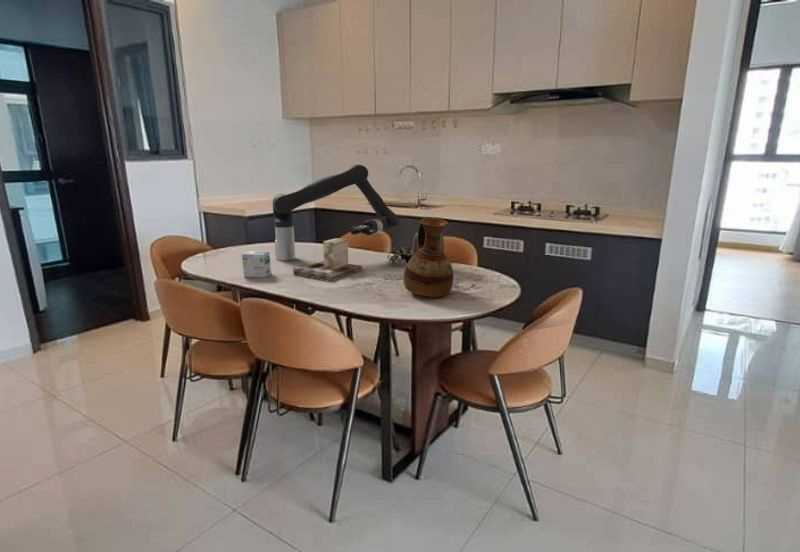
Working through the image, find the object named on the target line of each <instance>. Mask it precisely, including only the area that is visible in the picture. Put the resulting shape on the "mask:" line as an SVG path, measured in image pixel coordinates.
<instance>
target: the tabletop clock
mask: <svg viewBox="0 0 800 552" xmlns="http://www.w3.org/2000/svg"><path fill="white" fill-rule="evenodd" d="M426 218H432V217H429V216H427V217H424V218H422V219H421V220H423V219H426ZM444 241H445V239H444V236H443V233H441V236H440V250H441V251H442V252H443V253H444V248H445V242H444ZM411 246H412V247H411V254H413V255H414V254H415V253H416V252H417V251H418V249H419V247H418V232H415V234H414V236H413V240H412V245H411Z"/></svg>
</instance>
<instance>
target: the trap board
mask: <svg viewBox="0 0 800 552" xmlns="http://www.w3.org/2000/svg"><path fill="white" fill-rule="evenodd" d="M362 270H363V265H360V264H353V263H348V264H347V265H344V266H341V267H338V268H330V267H324V260H322V261H319V262H316V263H313V264H309V265H307V266H303V267H299V266H292V271H293V275H294V274H295V275H294V276H299V275H300V276H299V277H304V276H307V277H306V278H310V277H313V278H312V279H315V278H317V279H316V280H320V279H323V280H322V281H326V280H328V281H327V282H333V281H336V280H338V278H339V279H341V278H344V277H346V275H347V276H349V275H352V274H354V273H357V272H360V271H362ZM335 279H336V280H335ZM332 280H333V281H332Z"/></svg>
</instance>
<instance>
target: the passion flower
mask: <svg viewBox="0 0 800 552" xmlns="http://www.w3.org/2000/svg"><path fill="white" fill-rule="evenodd" d="M393 250H394V254H393V255H390V254H388V255H387V257H386V258H387V259H388V262H391V264H395V263H396V260H397V266H396V267H398V266H399V265H400V263H402V261H404V260H405V263H406V264H407V263H408V261H409V260H410V258H411V257H412V256H413V254H412V249H411V248H410V247H407V246H400V245H399V246H398V248H396V247H393Z"/></svg>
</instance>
